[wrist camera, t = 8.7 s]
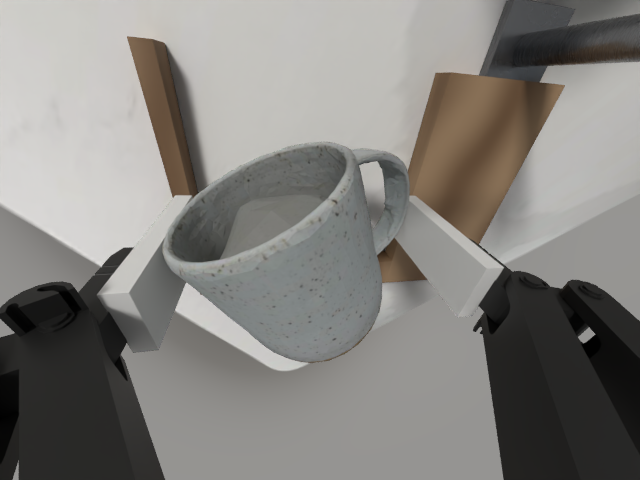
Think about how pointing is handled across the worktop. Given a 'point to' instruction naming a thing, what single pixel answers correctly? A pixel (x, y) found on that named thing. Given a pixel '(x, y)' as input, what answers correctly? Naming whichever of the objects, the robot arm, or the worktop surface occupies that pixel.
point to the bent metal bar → (556, 41)
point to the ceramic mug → (292, 246)
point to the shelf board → (429, 153)
